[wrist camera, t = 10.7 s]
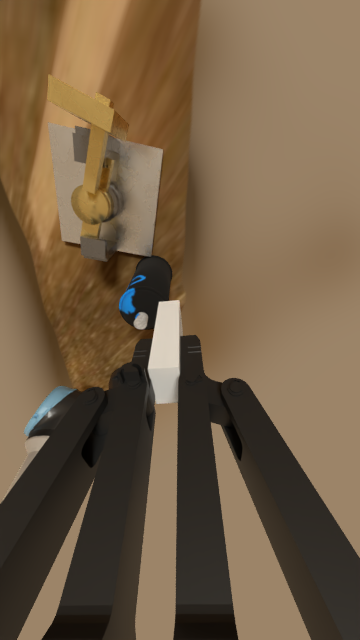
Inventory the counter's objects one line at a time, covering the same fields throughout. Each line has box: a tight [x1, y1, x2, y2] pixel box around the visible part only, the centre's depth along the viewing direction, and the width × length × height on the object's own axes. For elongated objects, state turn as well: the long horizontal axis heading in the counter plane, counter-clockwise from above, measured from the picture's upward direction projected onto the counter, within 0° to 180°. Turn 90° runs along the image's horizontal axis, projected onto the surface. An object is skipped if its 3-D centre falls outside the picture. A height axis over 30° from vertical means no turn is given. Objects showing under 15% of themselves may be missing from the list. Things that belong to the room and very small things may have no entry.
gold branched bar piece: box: [47, 75, 129, 238], centre depth 28 cm, size 6×18×11 cm, turn 157°
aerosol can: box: [119, 256, 172, 330], centre depth 40 cm, size 8×8×20 cm
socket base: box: [48, 122, 163, 262], centre depth 36 cm, size 18×18×10 cm
